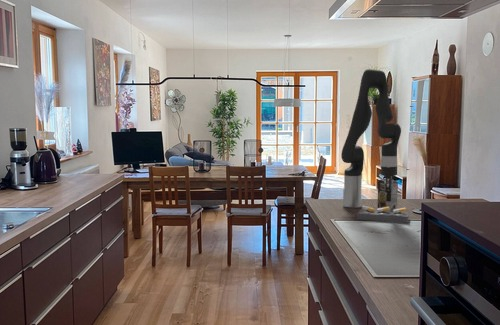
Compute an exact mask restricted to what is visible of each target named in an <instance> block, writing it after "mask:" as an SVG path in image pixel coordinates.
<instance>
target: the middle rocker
mask: <svg viewBox="0 0 500 325" xmlns="http://www.w3.org/2000/svg"><path fill="white" fill-rule="evenodd" d="M389 209H390V208H389V207H384V208H378V207H377V209H376V211H377V212H380V211H382V212H385V210H389Z"/></svg>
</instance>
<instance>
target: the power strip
mask: <svg viewBox="0 0 500 325" xmlns="http://www.w3.org/2000/svg"><path fill="white" fill-rule="evenodd" d="M356 217H357V218H356V219H357V220H359V221H360V220H361V221H369V222H370V221H372V222H384V223H386V222H387V223H398V224H399V223H400V224H408V223H409V220H410V213H409V212H401V213H398V212H397V213H394V212H382V211H380V212H377V210H374V211H373V212H372V211H366V209H359V210H358V212H357V213H356Z"/></svg>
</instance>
